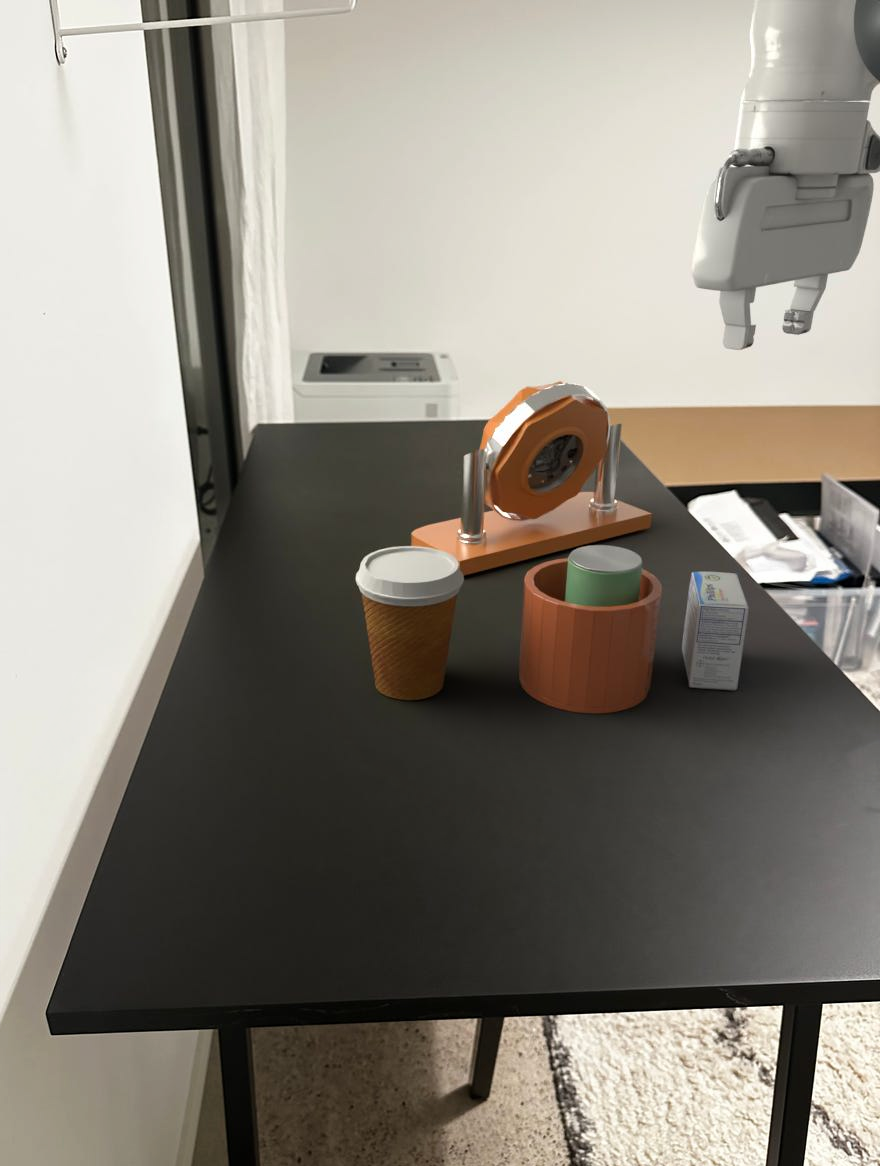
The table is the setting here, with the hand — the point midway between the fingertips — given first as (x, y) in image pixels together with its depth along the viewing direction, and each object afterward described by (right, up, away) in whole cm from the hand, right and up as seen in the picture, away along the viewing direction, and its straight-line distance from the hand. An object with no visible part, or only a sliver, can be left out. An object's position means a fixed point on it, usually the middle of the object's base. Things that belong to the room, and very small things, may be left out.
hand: (767, 340), depth 82 cm
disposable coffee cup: (-28, -28, +14) cm, 42 cm away
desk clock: (-13, -11, +48) cm, 51 cm away
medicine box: (0, -27, +16) cm, 31 cm away
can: (-9, -23, +9) cm, 26 cm away
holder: (-12, -28, +14) cm, 33 cm away
